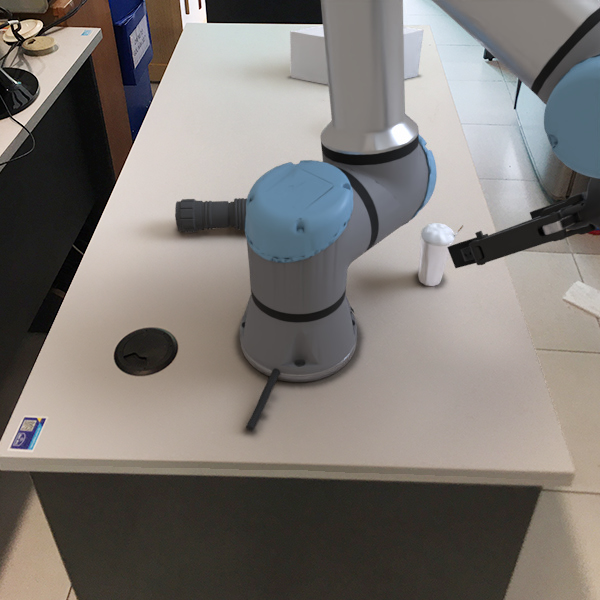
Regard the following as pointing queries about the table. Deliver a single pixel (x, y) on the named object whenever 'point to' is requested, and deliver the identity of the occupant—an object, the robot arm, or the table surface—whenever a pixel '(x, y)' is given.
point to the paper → (312, 55)
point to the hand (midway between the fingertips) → (495, 238)
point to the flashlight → (210, 214)
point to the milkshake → (434, 252)
